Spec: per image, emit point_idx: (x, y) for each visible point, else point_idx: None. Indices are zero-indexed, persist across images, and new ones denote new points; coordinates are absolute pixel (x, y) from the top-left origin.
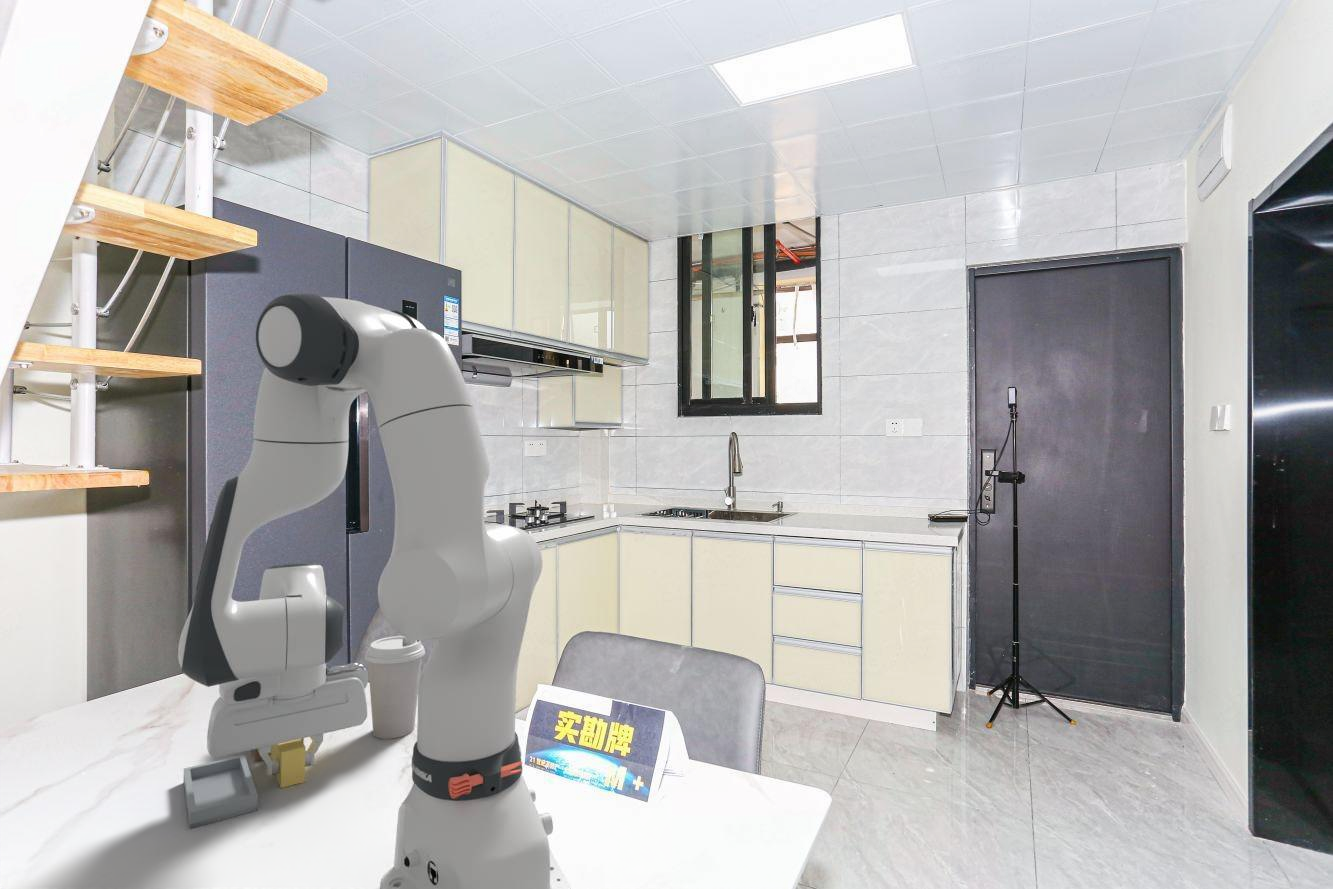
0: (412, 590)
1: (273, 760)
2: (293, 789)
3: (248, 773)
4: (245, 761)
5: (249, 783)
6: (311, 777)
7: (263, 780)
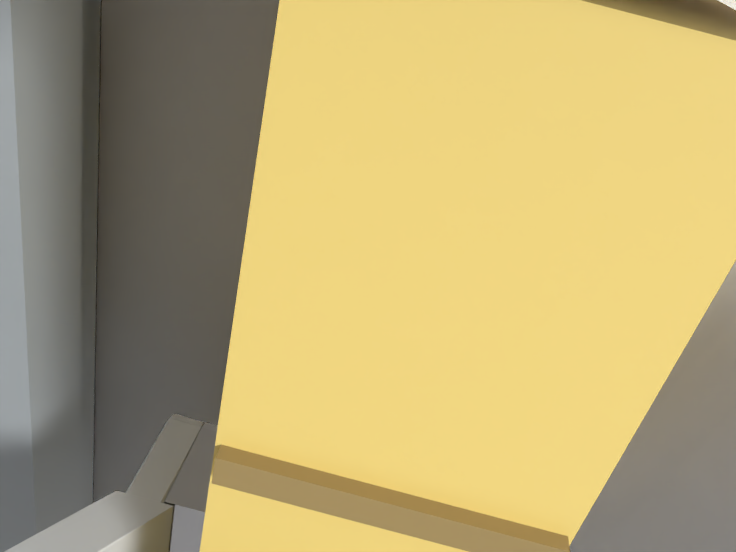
0: None
1: (180, 539)
2: None
3: (13, 390)
4: (2, 99)
5: (8, 536)
6: None
7: (204, 288)
